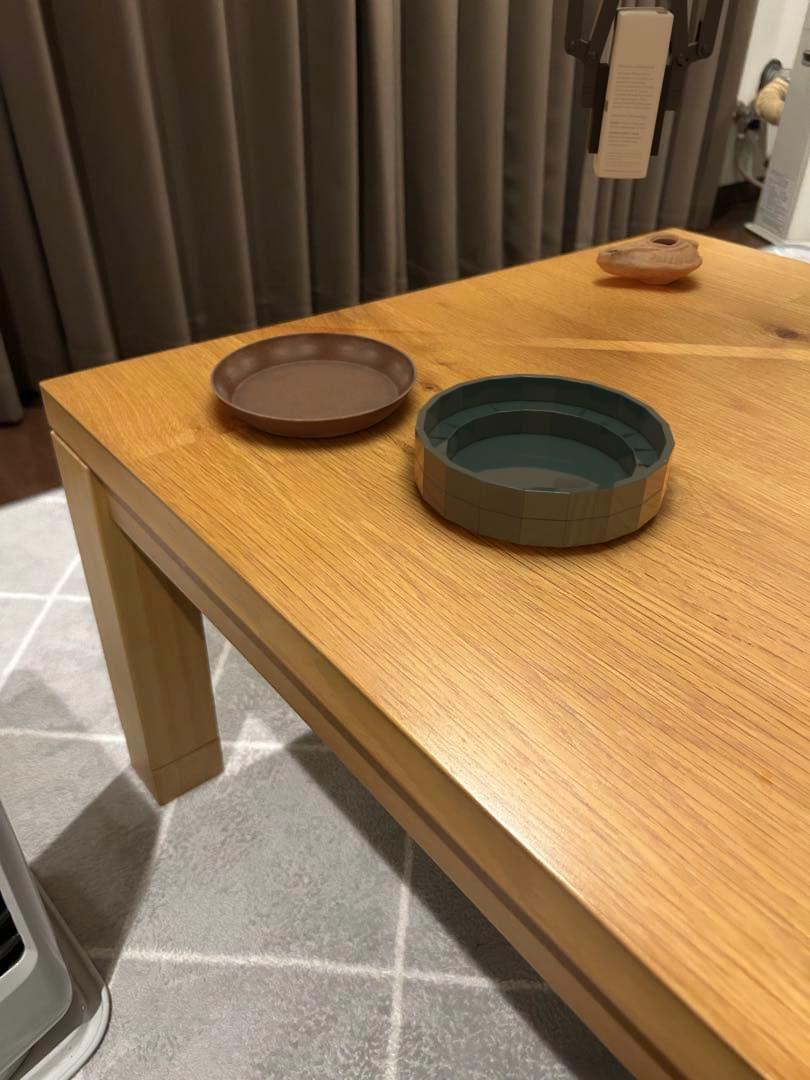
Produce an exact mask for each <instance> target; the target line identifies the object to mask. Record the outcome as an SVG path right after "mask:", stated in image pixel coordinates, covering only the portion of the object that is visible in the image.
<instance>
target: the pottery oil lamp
mask: <svg viewBox="0 0 810 1080" xmlns="http://www.w3.org/2000/svg"><path fill="white" fill-rule="evenodd" d="M699 246H700V243H699V242H697V241H696V240H694V239H689V238H684V237H681V235H678V234H675V233H672V232H664V231H663V232H662V231H661V232H654V233H651V234H648V235H645V236H644V237H642V238H640V239H637V240H635V241H629V242H624V243H623V242H622V243H620V244H619V243H618V244H615V245H612V246H609V247H605V248H602V249H601V250H600V251H599V252H598V254H597V256H596V259H595V262H596V264H597V265H598V267H599V268H600V269H601V270H602V271H604V273H607V274H609V275H612V276H617V277H624V278H629V279H637V281H639V282H640V283H643V284H647V285H659V286H660V285H663V286H664V285H668V284H671V283H672V282H674V281H676V280H679V279H682V278H684V277H686V276H688V275H690V274H691V273H693V272H695V271H697V270H698V269H700V268H701V266H702V265H703V261H704V260H703V257H702V256H701V255H700V253H699V251H698V249H699Z"/></svg>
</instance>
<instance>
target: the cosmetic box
mask: <svg viewBox="0 0 810 1080" xmlns="http://www.w3.org/2000/svg"><path fill="white" fill-rule="evenodd" d="M673 17H674V16H673V14H672V13H670V10H667V9H666V8H665V7H663V6H627V7H625V6H624V7H617V10H616V13H615V16H614V19H613V23H612V26H611V29H610V37H609V45H608V49H607V57H606V63H607V64H608V66H609V71H608V79H607V86H606V94H605V101H604V109H603V116H602V124H601V132H600V139H599V147H598V154H593V162H592V165H593V166H592V167H593V170H594V174H595V177H598V178H604V179H620V180H621V179H622V180H636V179H638V180H639V179H645V178H646V177H647V174H648V169H649V162H650V157H651V156H650V151H651V145H652V140H653V134H654V128H655V122H656V117H657V111H658V105H659V100H660V94H661V88H662V83H663V77H664V71H665V65H667V60H668V55H669V42H670V36H671V30H672V24H673Z"/></svg>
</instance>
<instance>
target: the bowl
mask: <svg viewBox="0 0 810 1080" xmlns="http://www.w3.org/2000/svg"><path fill="white" fill-rule="evenodd" d="M416 416H417V417H416V420H415V421H416V422H415V427H414V457H413V459H414V461H413V463H414V467H413V478H414V481H415V483H416V485H417V488H418V490H419V493H420V495H421V497H422V499H423V501H425V502H426V503H427V504H428V505H430V506H431V507H432V509H434V510H435V511H436V512H437V513H438V514H440V515H441V516H442V517H443V519H445V520H448V521H450V522H452V523H454V524H456V525H458V526H460V527H462V528H464V529H467V530H468V531H470V532H472V533H474V534H477V535H480V536H483V537H487V538H492V539H496V540H500V541H504V542H508V543H512V544H516V545H519V546H520V545H521V546H535V547H547V548H548V547H551V548H570V547H577V546H586V545H594V544H603V543H606V542H610V541H612V540H614V539H617V538H620V537H623V536H626V535H628V534H631V533H634V532H636V531H637V530H639V529H640V528H642V527H643V526H644V525H645V524H647V522H648V521H650V520H651V519H653V517H655V516H656V515H657V514H658V512H659V511H660V507H661V504H662V502H663V499H664V496H665V494H666V490H667V484H668V481H669V480H668V479H669V475H670V469H671V465H672V461H673V456H674V452H675V447H676V441H675V438H674V435H673V432H672V429H671V426H670V423H669V422H668V421H666V420H665V418H664V417H662V416H661V414H659V413H658V411H656V410H655V408H653V407H652V406H651V405H649V404H647V403H646V402H644V401H642V400H640V399H638V398H636V397H635V396H633V395H631V394H630V393H627V392H625V391H622V390H620V389H616V388H615V387H614V388H613V387H610V386H607V385H604V384H602V383H598V382H595V381H592V380H586V379H581V378H576V377H570V376H565V375H557V374H542V373H541V374H540V373H539V374H538V373H511V374H500V375H499V374H498V375H488V376H482V377H479V378H475V379H471V380H468V381H461V382H458V383H456V384H454V385H452V386H450V387H448V388H445V389H444V390H441V391H440V392H437V393H435V394H433V395H432V396H431V397H430V398H429V399H428V400H427V401H426V402H425V403H424V404H423V405H422V406H421V408H419V410H418V412H417V415H416Z"/></svg>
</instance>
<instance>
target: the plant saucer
mask: <svg viewBox="0 0 810 1080" xmlns="http://www.w3.org/2000/svg"><path fill="white" fill-rule="evenodd" d="M417 369H418V368H417V366H416V364H415V362H414V360H413V359H412V358H411V357H410V356H409V355H408V354H407V353H406V352H405V351H403V350H402V349H400V348H398V347H396V346H394V345H392V344H390V343H388V342H385V341H382V340H379V339H376V338H372V337H369V336H363V335H358V334H354V333H353V334H352V333H344V332H329V331H328V332H326V331H320V332H319V331H315V332H312V331H311V332H299V333H298V332H297V333H289V334H283V335H282V334H281V335H276V336H272V337H268V338H263V339H260V340H257V341H254V342H251V343H248V344H245V345H242V346H241V347H238V348H236V349H234V350H233V351H232V352H230V353H228V354H227V355H225V356H224V357H222V359H220V360H219V361H218V362H217V363H216V364H215V366H214V367H213V369H212V370H211V373H210V377H209V383H210V386H211V387H210V388H211V390H212V391H213V393H214V394H215V395H216V397H217V398H218V399H219V400H220V401H221V402H222V403H223V404H224V405H225V406H226V407H227V408H228V409H229V411H231V412H232V413H233V414H234V415H235V416H237V417H238V418H239V419H240V420H242V421H243V422H245V423H247V424H248V425H250V426H252V427H253V428H256V429H258V430H260V431H263V432H266V433H269V434H273V435H276V436H277V435H278V436H282V437H289V438H299V439H323V438H331V437H339V436H344V435H348V434H349V435H350V434H353V433H356V432H359V431H363V430H365V429H367V428H370V427H372V426H375V425H377V424H378V423H380V422H381V421H383V420H384V419H386V418H388V416H389V415H391V414H392V413H393V412H394V411H395V410H397V409H398V408H399V406H401V404H402V403H403V402H404V401H405V399H406V398H408V396H409V394H410V393H411V391H412V390H413V388H414V386H415V384H416V383H417V380H418V370H417Z"/></svg>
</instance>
